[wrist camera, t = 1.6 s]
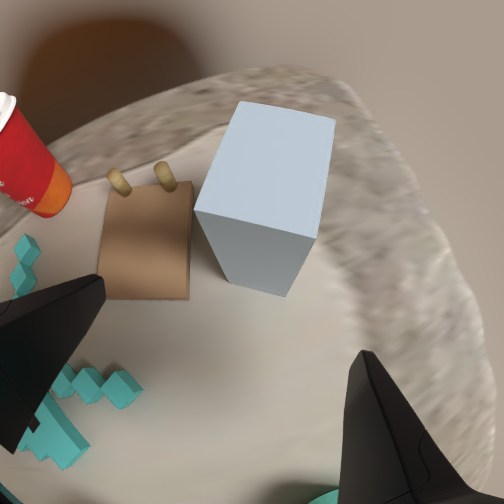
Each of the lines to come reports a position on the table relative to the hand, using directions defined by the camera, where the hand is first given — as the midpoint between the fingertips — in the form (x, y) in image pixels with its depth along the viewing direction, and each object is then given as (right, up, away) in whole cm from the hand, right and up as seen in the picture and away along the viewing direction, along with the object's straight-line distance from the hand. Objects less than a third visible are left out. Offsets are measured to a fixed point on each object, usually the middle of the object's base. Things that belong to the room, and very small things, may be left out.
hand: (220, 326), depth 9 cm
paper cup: (-21, +9, +17) cm, 28 cm away
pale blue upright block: (+2, +2, +14) cm, 14 cm away
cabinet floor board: (-8, +3, +15) cm, 17 cm away
